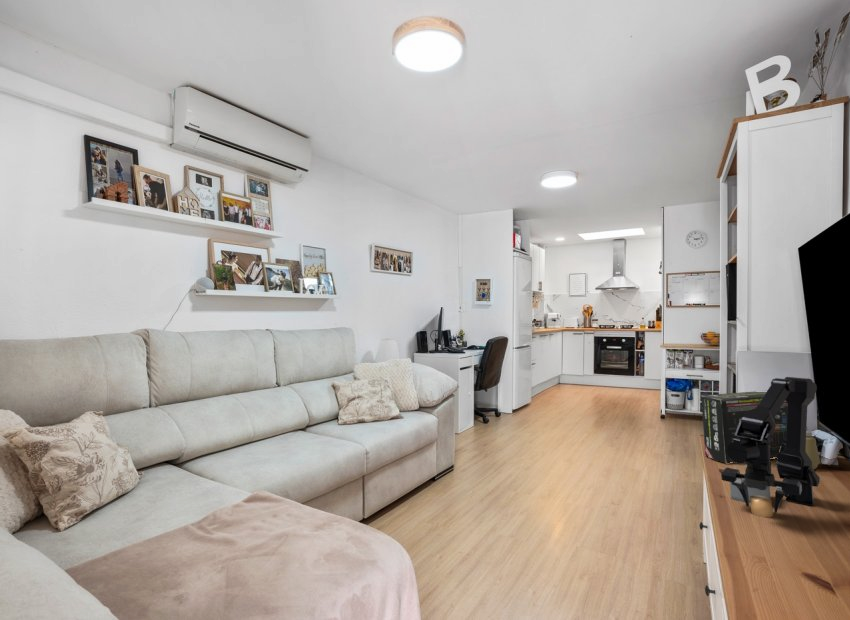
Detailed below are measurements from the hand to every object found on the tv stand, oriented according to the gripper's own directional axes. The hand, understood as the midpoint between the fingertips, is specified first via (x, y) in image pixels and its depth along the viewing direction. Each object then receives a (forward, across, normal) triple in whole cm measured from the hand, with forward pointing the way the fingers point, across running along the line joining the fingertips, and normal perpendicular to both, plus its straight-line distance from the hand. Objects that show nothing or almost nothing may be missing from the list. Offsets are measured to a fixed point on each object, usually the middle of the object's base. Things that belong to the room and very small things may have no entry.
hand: (761, 509), depth 128 cm
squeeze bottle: (+1, +5, +59) cm, 59 cm away
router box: (+2, -13, +61) cm, 62 cm away
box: (+1, -4, +11) cm, 12 cm away
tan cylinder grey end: (+1, 0, 0) cm, 1 cm away
